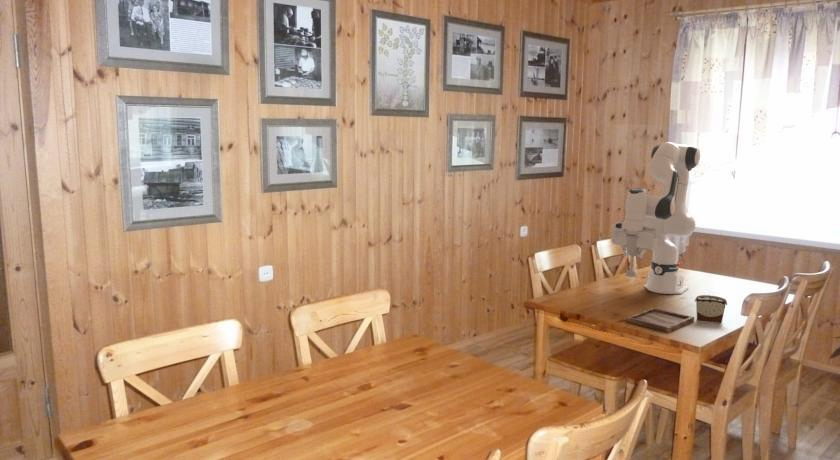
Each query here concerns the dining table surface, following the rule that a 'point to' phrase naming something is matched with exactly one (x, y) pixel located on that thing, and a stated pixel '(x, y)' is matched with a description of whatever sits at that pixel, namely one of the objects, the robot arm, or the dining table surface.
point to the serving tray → (660, 320)
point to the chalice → (631, 253)
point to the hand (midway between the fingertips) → (632, 256)
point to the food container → (710, 308)
